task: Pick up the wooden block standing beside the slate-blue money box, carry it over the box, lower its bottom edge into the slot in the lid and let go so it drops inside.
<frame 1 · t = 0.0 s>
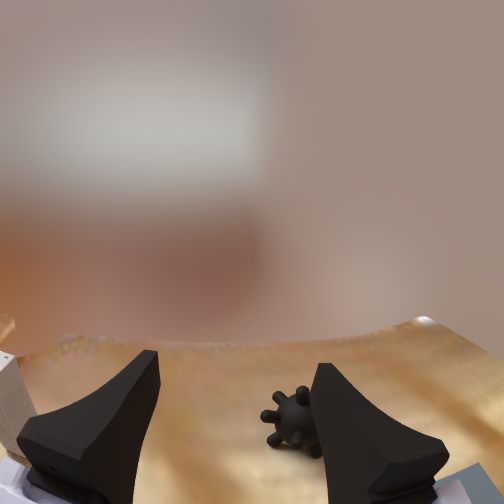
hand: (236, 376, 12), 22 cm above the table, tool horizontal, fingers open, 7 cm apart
toy ball: (295, 440, 32), on the table
skincare box: (25, 441, 21), on the table
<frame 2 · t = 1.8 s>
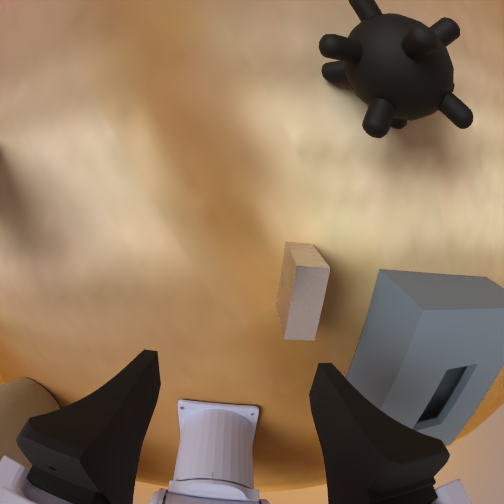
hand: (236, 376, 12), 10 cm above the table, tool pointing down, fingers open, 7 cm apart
toy ball: (369, 74, 18), on the table
money box: (412, 356, 25), on the table
wooden block: (293, 274, 22), on the table
plant pot: (39, 397, 27), on the table
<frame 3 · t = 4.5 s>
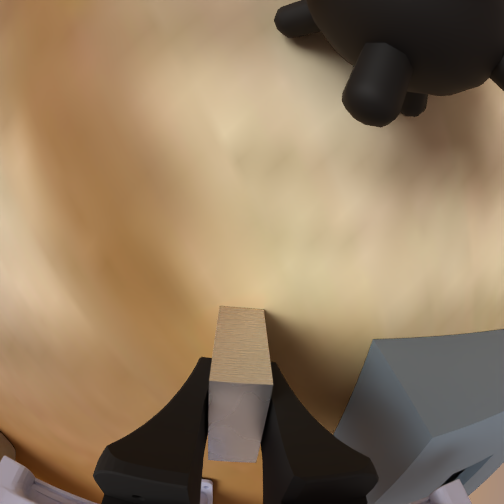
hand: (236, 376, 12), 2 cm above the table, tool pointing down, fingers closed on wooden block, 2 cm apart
toy ball: (360, 30, 10), on the table
money box: (411, 428, 17), on the table
wooden block: (237, 351, 14), on the table, touching gripper
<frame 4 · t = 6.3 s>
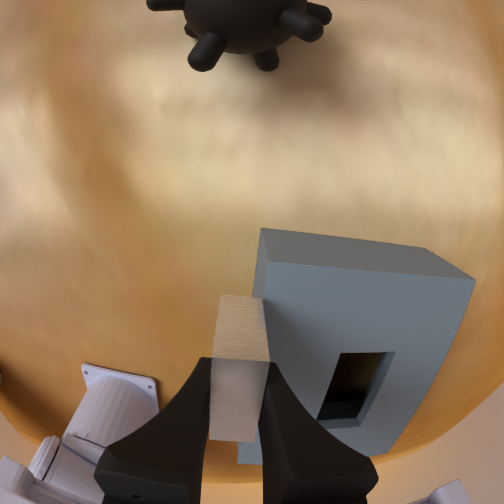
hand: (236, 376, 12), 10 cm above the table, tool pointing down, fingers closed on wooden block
toy ball: (242, 25, 16), on the table
money box: (328, 339, 24), on the table
wooden block: (237, 338, 15), point 7 cm above the table, touching gripper
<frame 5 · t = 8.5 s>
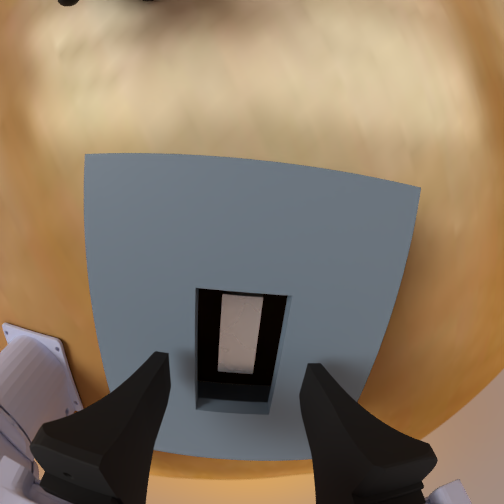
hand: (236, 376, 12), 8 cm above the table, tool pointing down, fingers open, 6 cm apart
money box: (238, 297, 20), on the table
wooden block: (239, 296, 20), resting in money box
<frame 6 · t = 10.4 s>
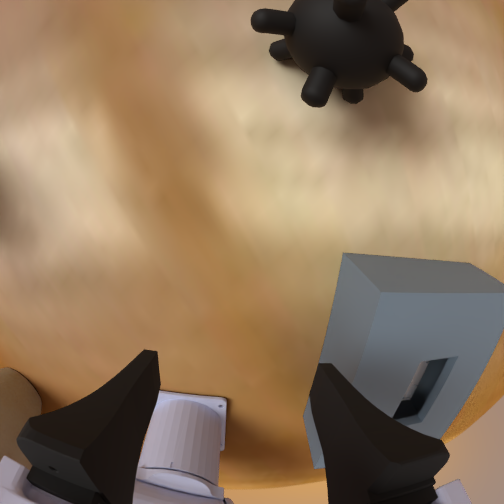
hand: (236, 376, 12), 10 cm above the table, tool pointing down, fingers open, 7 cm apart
toy ball: (323, 51, 17), on the table
money box: (390, 348, 25), on the table
wooden block: (390, 347, 25), resting in money box
plant pot: (21, 388, 27), on the table
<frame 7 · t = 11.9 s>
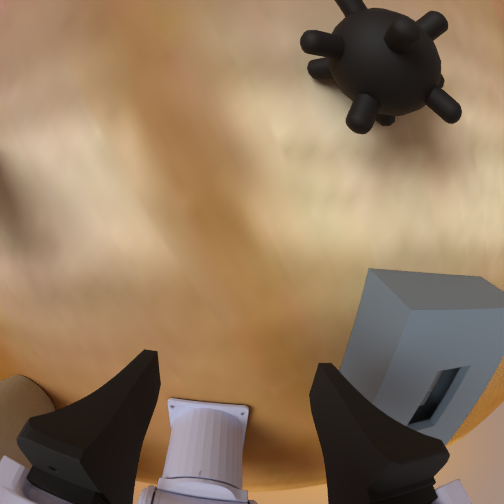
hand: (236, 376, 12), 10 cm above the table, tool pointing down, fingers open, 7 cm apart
toy ball: (357, 71, 18), on the table
money box: (405, 356, 25), on the table
plant pot: (33, 395, 27), on the table
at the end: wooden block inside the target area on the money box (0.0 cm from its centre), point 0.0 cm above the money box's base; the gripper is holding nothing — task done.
